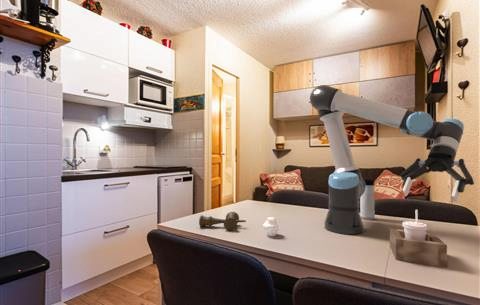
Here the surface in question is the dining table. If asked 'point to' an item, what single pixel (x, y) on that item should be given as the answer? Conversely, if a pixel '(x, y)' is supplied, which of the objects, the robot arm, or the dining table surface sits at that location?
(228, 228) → the kendama
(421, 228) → the smoothie
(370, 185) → the travel mug
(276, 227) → the white vase
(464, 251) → the dining table surface
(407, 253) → the brown open square box
